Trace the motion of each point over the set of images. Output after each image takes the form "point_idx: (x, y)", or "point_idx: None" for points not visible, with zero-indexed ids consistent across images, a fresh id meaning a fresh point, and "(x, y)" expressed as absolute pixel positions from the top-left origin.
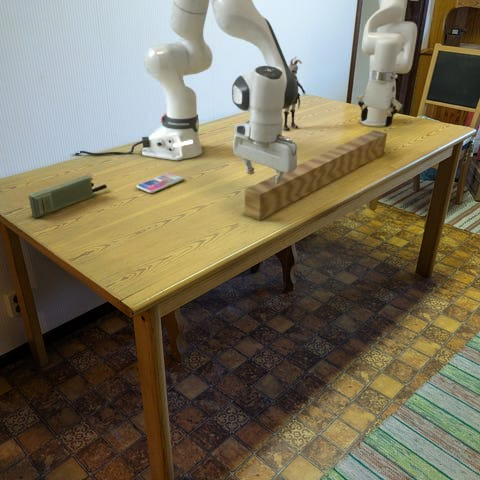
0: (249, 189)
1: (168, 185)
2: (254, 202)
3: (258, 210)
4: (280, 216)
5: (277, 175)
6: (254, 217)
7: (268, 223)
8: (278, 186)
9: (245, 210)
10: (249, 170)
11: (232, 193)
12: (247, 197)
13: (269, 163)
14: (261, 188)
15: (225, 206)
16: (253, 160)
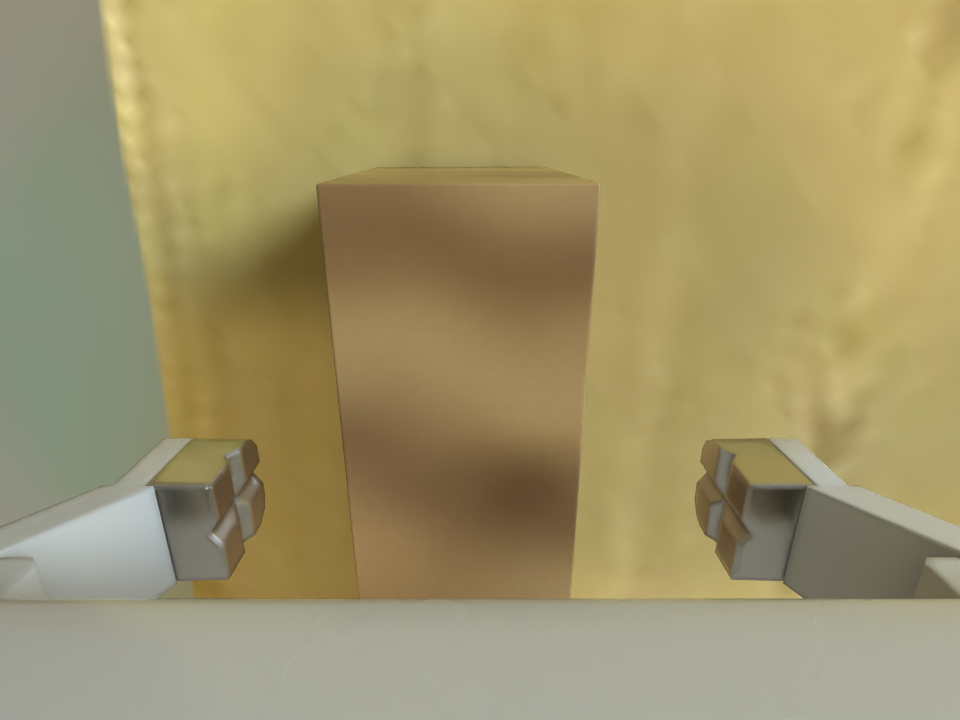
0: (546, 222)
1: None
2: (425, 175)
3: (374, 171)
4: (310, 347)
5: (32, 528)
6: (430, 167)
7: (286, 181)
8: (354, 534)
9: (540, 169)
10: (756, 470)
11: (855, 405)
12: (535, 176)
13: (7, 704)
14: (448, 359)
15: (777, 179)
16: (745, 624)
